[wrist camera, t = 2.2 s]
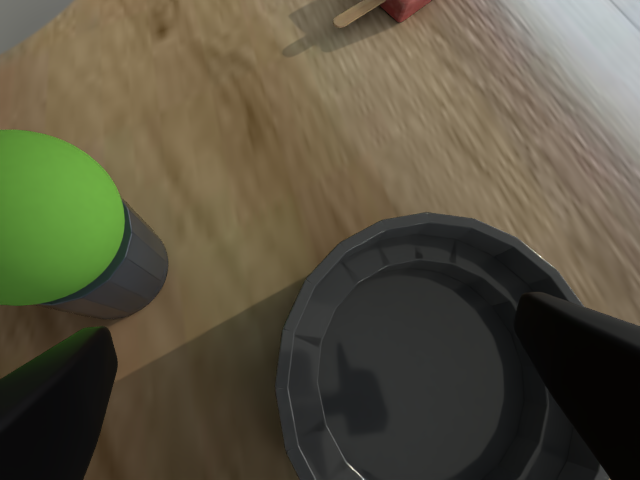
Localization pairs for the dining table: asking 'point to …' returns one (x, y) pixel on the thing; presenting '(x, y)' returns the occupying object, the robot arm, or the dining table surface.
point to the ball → (53, 218)
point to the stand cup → (122, 276)
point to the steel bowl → (422, 361)
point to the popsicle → (397, 3)
